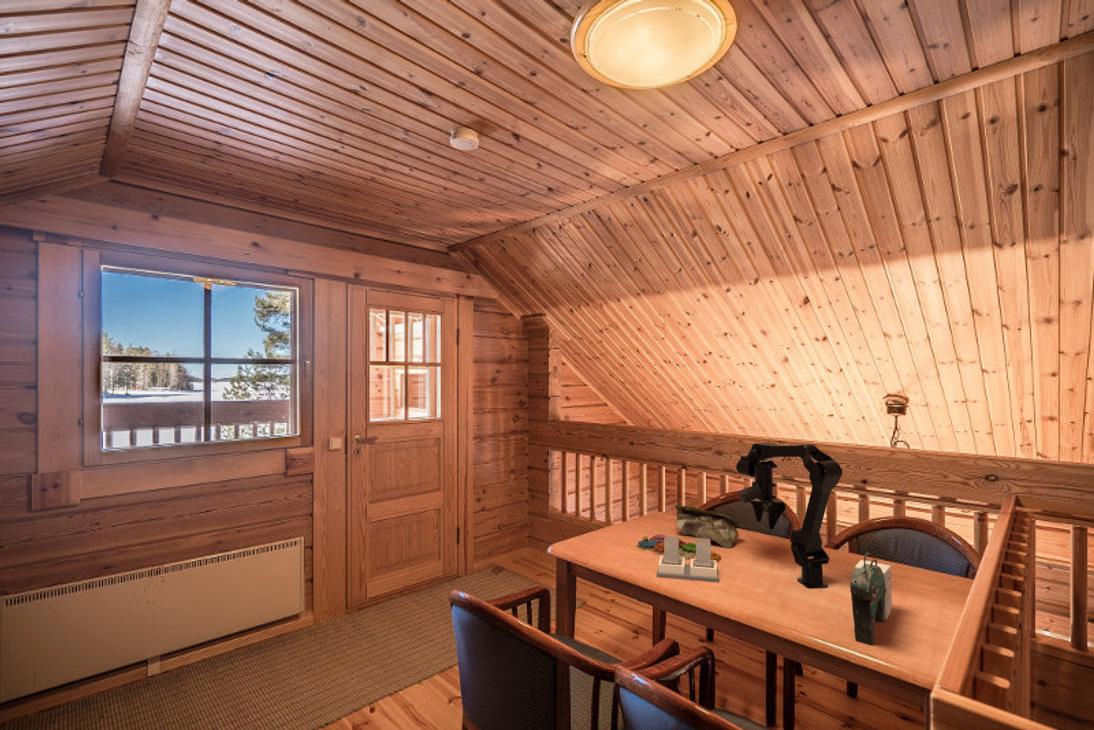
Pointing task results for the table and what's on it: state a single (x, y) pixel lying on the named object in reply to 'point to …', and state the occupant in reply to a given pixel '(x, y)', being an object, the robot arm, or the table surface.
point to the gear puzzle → (684, 549)
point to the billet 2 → (703, 553)
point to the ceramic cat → (867, 599)
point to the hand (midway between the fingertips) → (764, 525)
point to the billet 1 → (671, 550)
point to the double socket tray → (688, 571)
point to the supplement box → (887, 577)
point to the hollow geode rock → (707, 525)
